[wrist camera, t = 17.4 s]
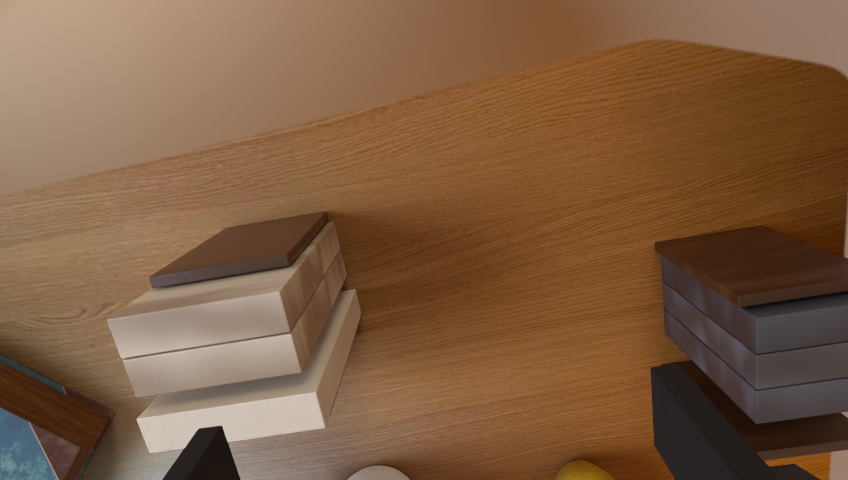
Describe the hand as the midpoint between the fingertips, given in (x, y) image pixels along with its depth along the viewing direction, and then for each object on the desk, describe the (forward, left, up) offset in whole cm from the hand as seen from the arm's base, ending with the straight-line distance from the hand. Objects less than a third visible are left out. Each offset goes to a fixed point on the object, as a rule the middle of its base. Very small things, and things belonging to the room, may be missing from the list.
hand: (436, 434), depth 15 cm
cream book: (+13, -6, -28) cm, 32 cm away
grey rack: (-5, +25, -28) cm, 38 cm away
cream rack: (+12, -8, -28) cm, 31 cm away
